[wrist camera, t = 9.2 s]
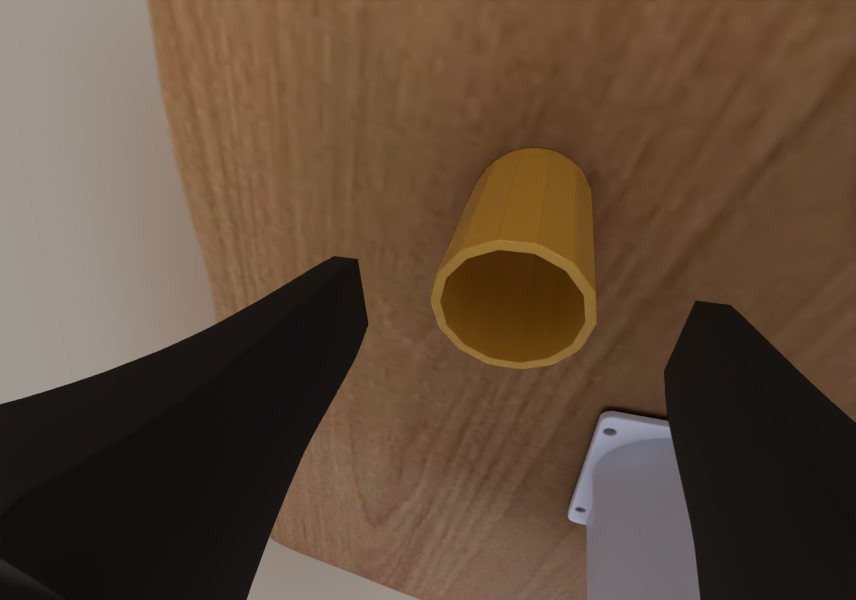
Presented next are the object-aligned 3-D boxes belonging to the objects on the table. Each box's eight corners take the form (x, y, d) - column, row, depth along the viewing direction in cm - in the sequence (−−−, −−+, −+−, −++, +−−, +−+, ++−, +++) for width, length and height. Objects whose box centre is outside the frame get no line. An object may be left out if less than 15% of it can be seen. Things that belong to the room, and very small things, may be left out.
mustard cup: (581, 259, 15) (581, 380, 11) (471, 247, 16) (432, 355, 12) (604, 151, 12) (616, 252, 8) (474, 143, 13) (427, 232, 9)
